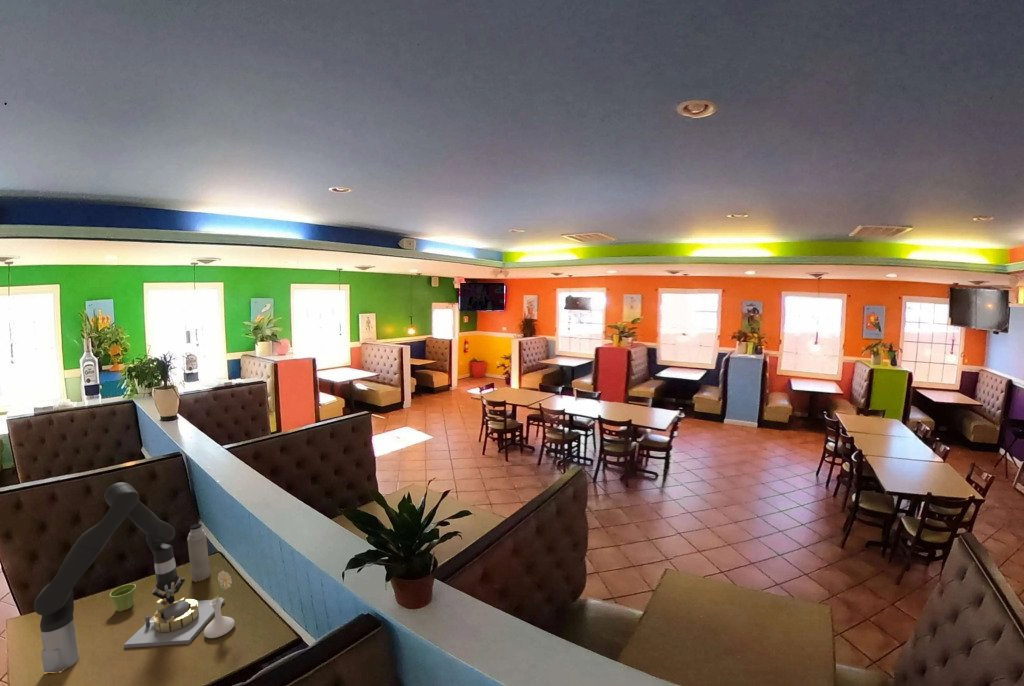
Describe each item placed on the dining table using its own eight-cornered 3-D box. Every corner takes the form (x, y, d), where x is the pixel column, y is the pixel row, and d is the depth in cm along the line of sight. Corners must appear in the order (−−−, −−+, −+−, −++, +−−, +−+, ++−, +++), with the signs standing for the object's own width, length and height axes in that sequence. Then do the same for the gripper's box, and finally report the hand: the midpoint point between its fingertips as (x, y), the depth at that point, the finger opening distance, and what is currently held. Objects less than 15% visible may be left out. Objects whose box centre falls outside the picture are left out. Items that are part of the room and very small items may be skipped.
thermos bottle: (199, 572, 242) (194, 521, 239) (213, 572, 241) (208, 521, 238) (187, 581, 234) (182, 529, 231) (202, 582, 233) (196, 529, 230)
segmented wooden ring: (206, 612, 206) (205, 602, 206) (167, 636, 193) (166, 624, 192) (178, 600, 216) (177, 589, 216) (139, 621, 202) (138, 610, 202)
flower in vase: (220, 642, 191) (214, 586, 188) (197, 639, 193) (191, 583, 191) (244, 621, 204) (239, 567, 201) (222, 618, 206) (217, 565, 203)
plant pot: (123, 615, 210) (121, 597, 209) (106, 613, 212) (104, 595, 211) (143, 601, 219) (141, 584, 218) (126, 600, 221) (124, 583, 220)
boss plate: (189, 643, 191) (187, 626, 190) (123, 648, 190) (121, 631, 189) (224, 602, 217) (223, 587, 216) (166, 605, 215) (165, 590, 215)
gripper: (179, 558, 217) (184, 592, 219) (145, 573, 206) (150, 608, 208) (185, 564, 212) (190, 598, 214) (150, 579, 202) (155, 615, 204)
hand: (170, 603), depth 211 cm, fingers closed
